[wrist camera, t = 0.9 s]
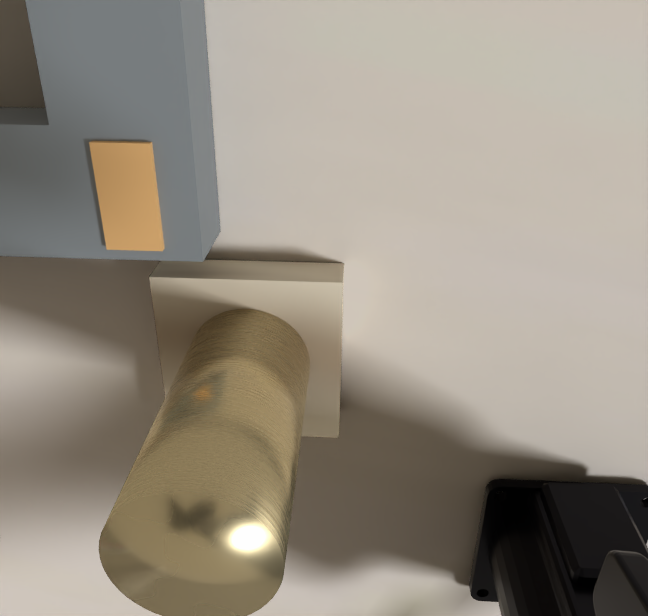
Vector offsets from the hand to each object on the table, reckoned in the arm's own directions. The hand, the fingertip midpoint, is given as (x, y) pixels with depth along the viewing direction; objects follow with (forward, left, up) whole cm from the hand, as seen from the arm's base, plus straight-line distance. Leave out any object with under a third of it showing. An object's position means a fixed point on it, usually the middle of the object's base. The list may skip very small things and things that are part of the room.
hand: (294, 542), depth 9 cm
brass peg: (-4, +3, -11) cm, 12 cm away
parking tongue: (-4, +3, -12) cm, 13 cm away
